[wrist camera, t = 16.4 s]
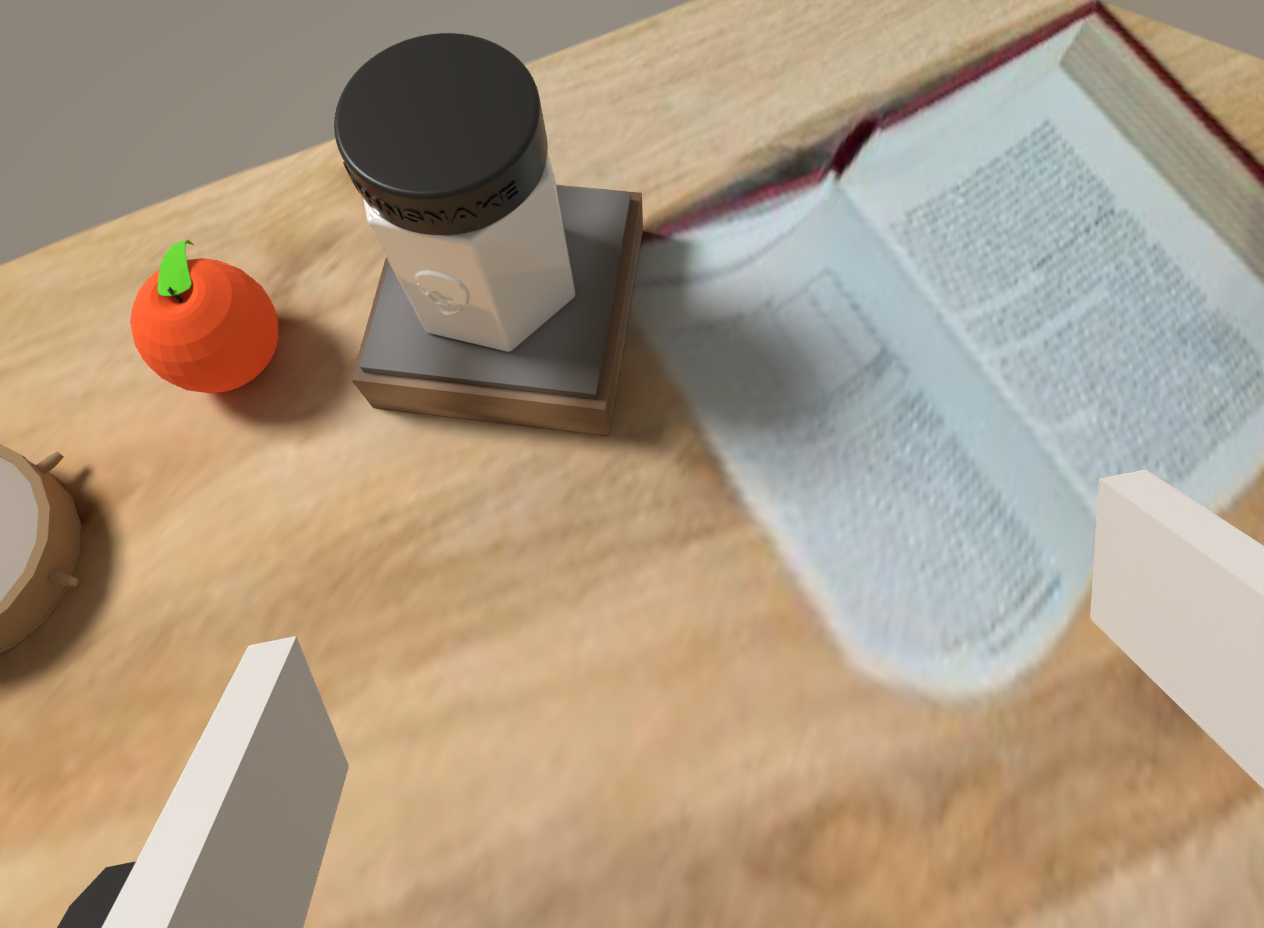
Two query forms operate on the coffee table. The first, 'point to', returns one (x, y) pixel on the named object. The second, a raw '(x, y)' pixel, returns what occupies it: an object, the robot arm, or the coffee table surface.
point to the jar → (459, 185)
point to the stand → (545, 361)
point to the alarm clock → (33, 544)
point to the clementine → (203, 323)
